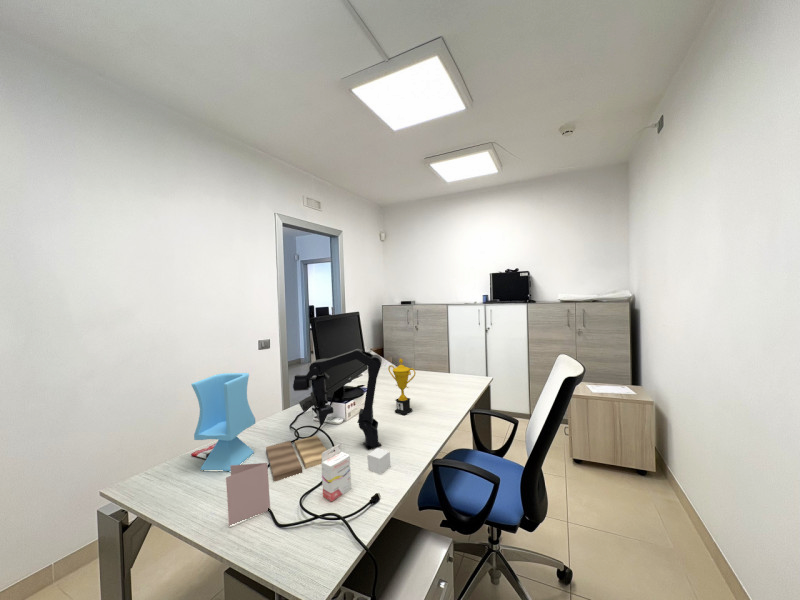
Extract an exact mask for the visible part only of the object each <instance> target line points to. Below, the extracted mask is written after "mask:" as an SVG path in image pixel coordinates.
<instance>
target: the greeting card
mask: <svg viewBox="0 0 800 600" xmlns="http://www.w3.org/2000/svg"><path fill="white" fill-rule="evenodd" d="M230 468H231V472H230V475H229V476H226V477H225V482H226V483H225V485H226V497H227V498H226V499H227V513H228V515H227V516H228V527H229V526H230V525H232V524H235V523H237V522H240V521H242V520H245V519H248V518H250V517H253V516H255V515H258V514H260V515H262V514H264V513H263V512H265V513H267V512H268V511H267V510H268V508H270V509H271V501H270V500H271V498H270V484H269V482H270V481H269V467H268V462H261V463H260V462H259V463H247V464H245V463H243V464H241V465H230ZM266 511H267V512H266ZM261 513H262V514H261ZM258 516H259V515H258ZM253 518H254V517H253Z"/></svg>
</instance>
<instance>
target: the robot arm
mask: <svg viewBox="0 0 800 600" xmlns="http://www.w3.org/2000/svg"><path fill="white" fill-rule="evenodd" d="M382 359H383V358H382V357H381V356H380V355H379V354H372V352H367V351H365V350H362V349H360V348H356V349H354V350H351V351H348V352H345V353H342V354H339V355H336V356H333V357H329V358H328V357H327V358H321V359H319V358H318V359H316V360H315V361H313V362H311V364H310V365H309V369H308V372H307V373H306V374H296V375H294V380H293V384H292V389H293V391H294V392H301V391H302V392H304V391H309V390H310V389H311V391H310V395H309V396H308V397H306V398H303V399H302V400H300V401H299V402H298V405H299V406H300V408H301V410H302V411H303V412H306V411H307V410H309V409H310V408H311V410H312V411H313V412H314V413H315V414H316V417H317V419H318V423H319V425H320V426H322V425H323V426H324V422H325V419H326V417H327V416H328V415H330V414H333V413H334V407H333V406H332V405H330V404H329V400H327V395H328V391H327V390H326V380H329V378H330V375H328V373H326V371H329V370H330V369H332V368H334V367H337V366H340V365H343V364H346V363H349V362H352V361H355V360H357V361H359V363H362V364H363V365H365V366H367V373H368V374H367V375H368V380H367V384H366V385H367V386H366V391H365V397H364V398H365V400H364V406H363V408H360V409H359V412H358V419H357V424H358V428H359V429H360V430H361V431H362V433H363V434H364V439H365V441H364V442H362V445H363V447H364V448H365V449H367V451H370V450H373V449H376V448H380V447H381V446H382V444H381V442H379V430H378V428H379V427H378V426H379V422H378V421H377V420H376V419H375V418H374V408H373V405H374V399H375V392H376V386H377V381H378V376H379V372H380V370H381V367H382V363H383V360H382Z"/></svg>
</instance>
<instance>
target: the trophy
mask: <svg viewBox="0 0 800 600" xmlns="http://www.w3.org/2000/svg"><path fill="white" fill-rule="evenodd" d="M398 362H399V365H398V366H396V367H394V365H392V364H391V365H389V366H388V368H387V369H388V370H387V371H388V372H389V374H390V376H391V377H392V378H393V379H394V380H395V382H396V384H395V386H396V387H398V389H399V390H401V391H400V392H401V394H400V396H399V397H398V398H395V400H394V401H395V402H396V408H395V409H394V413H395V414H398V415H400V416H401V415H402V416H407V415H409V414H410V413H412V412H413V409H412V408H411V401H410V400H411V398H409V397H407V395H405V389H409V388H410V387H409V386H408V384H409V383H410V382H411V381H412V380H413V379H414V378H415V376H416V370H415V368H413V367H411V368H410V367H407V366H405V365H404V364H403V363H404V359H403V358H399V359H398ZM391 368H392V371H391ZM411 371H413V373H414V374H413V376H411V374H412V372H411ZM409 376H411V378H409Z"/></svg>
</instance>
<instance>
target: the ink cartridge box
mask: <svg viewBox="0 0 800 600" xmlns="http://www.w3.org/2000/svg"><path fill="white" fill-rule="evenodd" d="M326 450H327V451H325V452H323V453H322V462H321V464H320V465H321V482H322V483H321V484H322V497H323V498H325V499H327V501H330V502H333V501H335V500H336V499H338V498H340V497H341V496H343V495H344V494H346V493H347V492H348V491H350V490H351V489H352V479H351V478H352V476H351V456H350V454H348V453H346V452H343V451H342V444H341V443H339V444H337V445H335V446H332V447H331V448H328V449H326ZM332 451H333V452H332ZM328 453H329V454H328Z"/></svg>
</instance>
